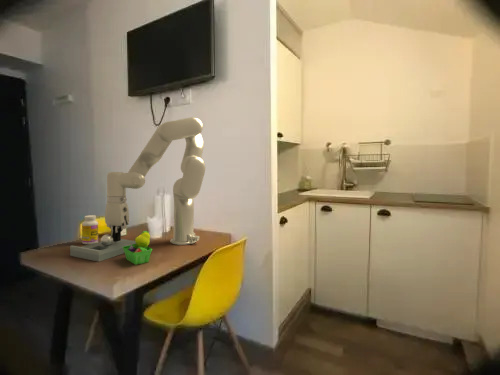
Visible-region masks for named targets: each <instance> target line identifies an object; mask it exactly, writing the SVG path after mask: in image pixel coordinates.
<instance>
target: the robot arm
mask: <svg viewBox="0 0 500 375" xmlns="http://www.w3.org/2000/svg"><path fill="white" fill-rule="evenodd" d="M203 129H204V126H203V122H202V121H201V119H200V118H197V117H193V116H192V117H186V118H181V119H177V120H170V121H165V122H163V123H161V124H160V125H159V126H158V127H157V129H156V130H155V131H154V133H153V134H152V135H151V138H150V139H149V140H148V142H147V143H146V145H144V146H145V147H143V150H142V151H141V152H140V154H139V155H138V157H137V159H136V160H135V161H134V163H133V164H132V165H131V167H130V169H129V170H128V171H127V172H123V171H109V172H107V174H106V205H105V212H104V223H105V224H106V227H108V228H109V229H110V233H111V232H113V233H112V235H111V236H112V237H113V242H117V241H120V240H121V239H122V236H121V232H122V230H123V229H126V228H127V229H128V225H130V212H129V204H128V203H127V189H131V190H132V189H133V190H137V189H141V188H143V187H144V185H145V183H146V176H147V174H148V173H149V171H151V169H152V167H154V165H156V164H157V163H159V161H160V160H161V159H162V158H163V156H164V154H165V152H166V151H167V150H168V148H169V146H170V145H171V143H172V142H173V141H177V140H182V139H184V140H185V149H184V153H183V157H182V161H181V163H180V171H181V172H182V174H183V175H182V177H181V178H177V180H176V181H174V183H173V185H172V186H173V187H172V194H173V195H172V196H173V237H171V239H170V243H171V244H173V245H176V246H177V245H179V246H181V245H184V246H187V245H192V244H195V243H197V241H199V240H200V235H196V232H194V221H195V217H194V214H195V213H194V212H195V211H194V210H195V203H194V199H195V198H196V197H197V196H198V195H199V193H200V191H201V188H202V184H203V180H204V176H205V173H206V164H205V161H204V159H203V158H202V157H203V153H204V148H205V147H204V145H205V143H204V139H203V136H202V134H201V133H202V131H203ZM126 225H127V226H126ZM118 227H119V228H118Z"/></svg>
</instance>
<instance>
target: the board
mask: <svg viewBox="0 0 500 375" xmlns="http://www.w3.org/2000/svg"><path fill="white" fill-rule="evenodd" d="M132 244H136V241H135V240H130V239H124V238H121V240H120V241H117V242H112V244H111V245H109V246H104V245H102V244H101V241H98V242H97V243H94V244H85V245H82V246H77V245H70V246H69V247H70V248H69V249H70V250H69V252H70V254H69V255H70V257H76V258H78V259H79V258H80V259H83V260H84V259H85V260H89V261H94V262H102V261H106V260H108V259H111V258H114V257H116V256H119V255H123V254H125V252H124V250H123V247H124V246H129V245H132Z"/></svg>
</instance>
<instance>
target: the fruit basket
mask: <svg viewBox="0 0 500 375" xmlns="http://www.w3.org/2000/svg"><path fill="white" fill-rule="evenodd" d="M150 239H151V235H150V232H149V231H147V230H144V231H142V232H141V233H140V235H138V236H137V237H135V239H134V241H136V244H132V245H129V246H124V247H123V250H124V252H125V253H124V255H125V259H126V260H127V261H129V262H130V263H132V264H134V265H135V266H137V265H142V264H146V263H149V262H150V261H149V260H150V258H151V253H152V251H153V248H151V247H149V245H150V241H151V240H150Z"/></svg>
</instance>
